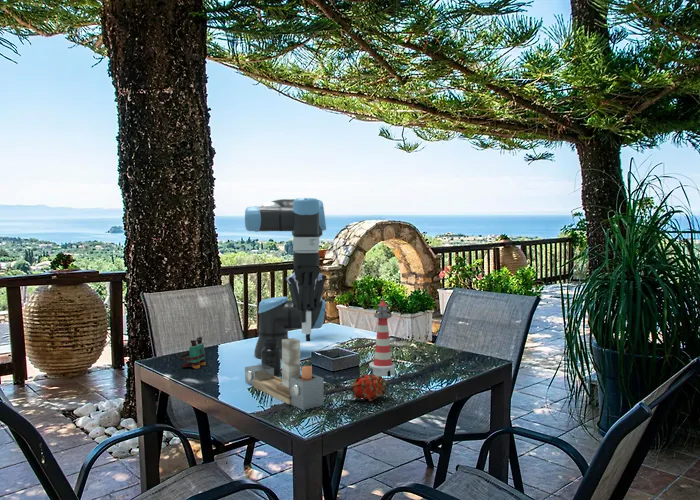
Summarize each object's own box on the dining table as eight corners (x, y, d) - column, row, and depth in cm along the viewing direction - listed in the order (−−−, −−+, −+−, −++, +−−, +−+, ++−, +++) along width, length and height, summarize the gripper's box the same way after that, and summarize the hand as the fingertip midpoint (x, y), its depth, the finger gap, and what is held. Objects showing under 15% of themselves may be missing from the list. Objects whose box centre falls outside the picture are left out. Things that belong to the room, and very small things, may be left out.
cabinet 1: (263, 378, 187) (263, 363, 187) (274, 382, 181) (273, 368, 181) (243, 382, 182) (243, 367, 182) (253, 386, 177) (253, 371, 176)
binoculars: (183, 337, 208) (207, 335, 206) (186, 364, 209) (210, 363, 207) (171, 342, 200) (196, 340, 198) (174, 370, 200) (199, 369, 198)
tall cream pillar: (292, 387, 171) (291, 336, 170) (306, 393, 164) (305, 340, 164) (276, 390, 167) (276, 338, 167) (290, 397, 161) (289, 343, 160)
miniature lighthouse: (377, 380, 184) (377, 292, 183) (364, 374, 192) (364, 289, 191) (400, 377, 188) (401, 290, 187) (386, 371, 196) (386, 288, 195)
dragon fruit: (390, 403, 165) (352, 413, 161) (381, 381, 171) (344, 390, 168) (393, 386, 159) (354, 395, 156) (383, 364, 165) (345, 372, 162)
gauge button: (308, 385, 161) (308, 365, 161) (313, 387, 158) (313, 367, 158) (299, 387, 159) (299, 366, 159) (305, 389, 157) (305, 368, 156)
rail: (275, 382, 182) (275, 375, 181) (311, 399, 164) (311, 391, 164) (253, 386, 177) (253, 379, 177) (288, 404, 159) (288, 396, 159)
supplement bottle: (284, 372, 194) (284, 339, 194) (275, 377, 188) (275, 343, 187) (266, 371, 196) (266, 338, 196) (257, 376, 190) (257, 341, 189)
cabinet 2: (310, 399, 164) (310, 373, 163) (323, 405, 158) (323, 378, 158) (288, 404, 159) (288, 377, 159) (301, 410, 154) (301, 382, 153)
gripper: (293, 253, 150) (294, 338, 151) (332, 251, 158) (332, 332, 159) (279, 252, 156) (280, 334, 157) (317, 251, 164) (317, 329, 165)
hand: (306, 333), depth 158 cm, fingers closed
